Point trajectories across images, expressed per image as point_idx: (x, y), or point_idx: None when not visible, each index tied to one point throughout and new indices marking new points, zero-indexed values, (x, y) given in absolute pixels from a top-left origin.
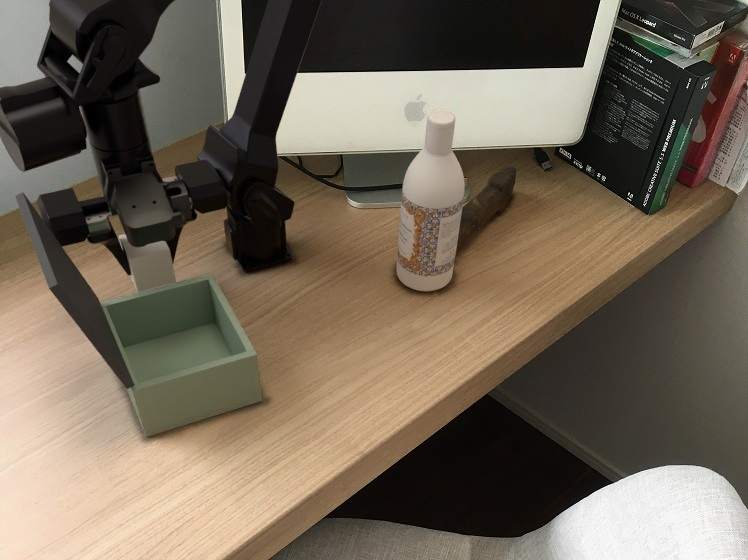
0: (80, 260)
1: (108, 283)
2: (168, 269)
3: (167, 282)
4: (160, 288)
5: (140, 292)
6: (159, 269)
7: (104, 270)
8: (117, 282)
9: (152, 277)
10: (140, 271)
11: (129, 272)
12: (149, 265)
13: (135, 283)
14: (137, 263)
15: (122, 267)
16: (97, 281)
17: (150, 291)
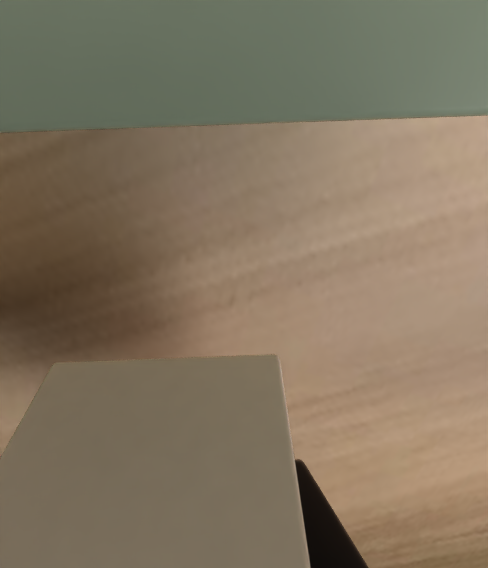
0: (375, 539)
1: (337, 448)
2: (43, 441)
3: (98, 368)
4: (37, 67)
5: (411, 91)
6: (100, 454)
7: (326, 495)
8: (307, 445)
9: (170, 412)
10: (237, 469)
11: None
12: (156, 503)
13: (284, 399)
14: (247, 547)
15: (340, 522)
16: (366, 463)
17: (235, 55)
